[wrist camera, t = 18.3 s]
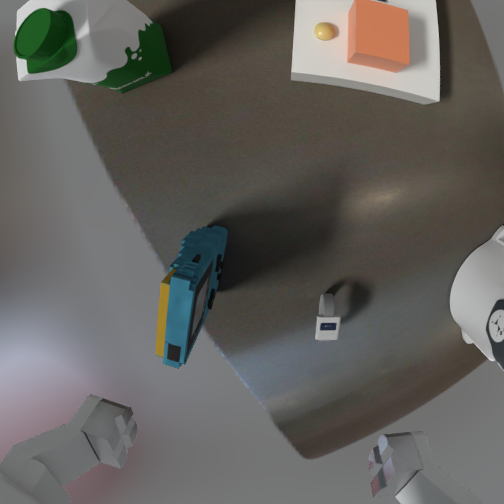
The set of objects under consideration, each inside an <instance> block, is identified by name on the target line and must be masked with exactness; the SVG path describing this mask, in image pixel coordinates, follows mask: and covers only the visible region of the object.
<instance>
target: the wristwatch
mask: <svg viewBox="0 0 504 504" xmlns="http://www.w3.org/2000/svg"><path fill="white" fill-rule="evenodd" d="M340 321H341V315H339V314H335V307H334V297H333V294H332V293H323V294H321V297H320V304H319V315H317V325H316V335H315V339H316V340H320V341H331V340H337V339H338V336H339V329H340Z"/></svg>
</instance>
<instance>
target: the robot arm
mask: <svg viewBox="0 0 504 504" xmlns="http://www.w3.org/2000/svg"><path fill="white" fill-rule="evenodd" d="M450 309H451V314H452V316H453V318H454V320H455V321H456V323H457V324H458V325H459V326H460V327H461V329H462V336H463V339H464V341H465V342H466V343H468V344H471V343H474V344H475V345H476V346H477V347H478V348H479V349H480V350H481V351H482V352H483V353H484V354H485V355H486V356H487V357H488V359H490V360H491V361H494V360H496V361H497V362H498V365H499V366H500V368H501V369H502V370H503V371H504V225H502V226H501V227H500V228H499V229H498V230H497V231H496V232H495V234H494V235H493V236H492V238H491V239H490V240H489V241H487V242H486V243H484V244H483V245H481V246H480V247H478V248H477V249H476V250H475V251H473V252H472V253H471V254H470V255H469V257H468V258H467V259H466V260H465V262H464V263H463V264H462V266H461V268H460V269H459V271H458V273H457V275H456V277H455V280H454V283H453V286H452V289H451V295H450ZM132 415H133V412H132V409H131V407H128V406H125V405H122V404H119V403H115V402H113V401H110V400H106V399H104V398H101V397H98V396H95V395H92V394H91V395H89V396H88V397H87V398H86V399H85V400H84V402H83V403H82V405H81V406H80V408H79V409H78V411H77V412H76V413H75V415H74V416H73V418H72V419H71V421H70V422H69V424H68V425H65V424H63V425H61V426H59V427H56V428H54V429H52V430H50V431H47V432H45V433H43V434H40V435H38V436H35V437H33V438H30V439H28V440H26V441H23V442H21V443H18V444H16V445H14V446H13V447H12V449H11V450H10V451H9V453H8V454H7V455H6V457H5V458H4V460H3V461H2V463H1V464H0V504H70V502H71V500H72V498H71V496H70V495H69V493H68V492H67V491H66V490H65V489H64V488H63V486H64V485H66V484H67V483H69V482H71V481H72V480H74V479H76V478H77V477H78V476H80V475H82V474H83V473H85V472H87V471H88V470H90V469H91V468H93V467H94V466H96V465H97V464H99V463H100V462H102V463H105V464H108V465H111V466H114V467H117V468H120V469H122V467H123V465H124V463H125V461H126V459H127V457H128V453H127V450H126V449H127V448H129V447H130V446H132V445H133V443H134V441H135V439H136V434H137V425H136V422H135V421H134V420H133V419H132V418H131V417H132ZM99 461H100V462H99ZM368 468H369V472H370V474H372V475H373V476H374V478H373V480H372V482H371V487H372V494H373V498H378V497H388V496H395V497H396V498H397V499H398V501H399V502H400V503H401V504H482V501H481V499H480V498H479V497H477V496H476V495H475V494H474V493H472V492H471V491H470V490H468V489H467V488H466V487H465V486H463V485H462V484H461V483H460V482H458V481H457V480H456V479H455V478H453V477H452V476H451V475H450V474H449V473H447V472H446V471H444V469H442V468H441V467H436V464H435V461H434V458H433V455H432V452H431V449H430V446H429V443H428V440H427V438H426V435H425V433H424V432H423V431H418V432H410V433H409V432H405V433H396V434H384V435H382V436H380V438H379V439H378V445H377V446H376V447H374V448H373V449H372V451H371V453H370V455H369V460H368Z"/></svg>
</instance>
